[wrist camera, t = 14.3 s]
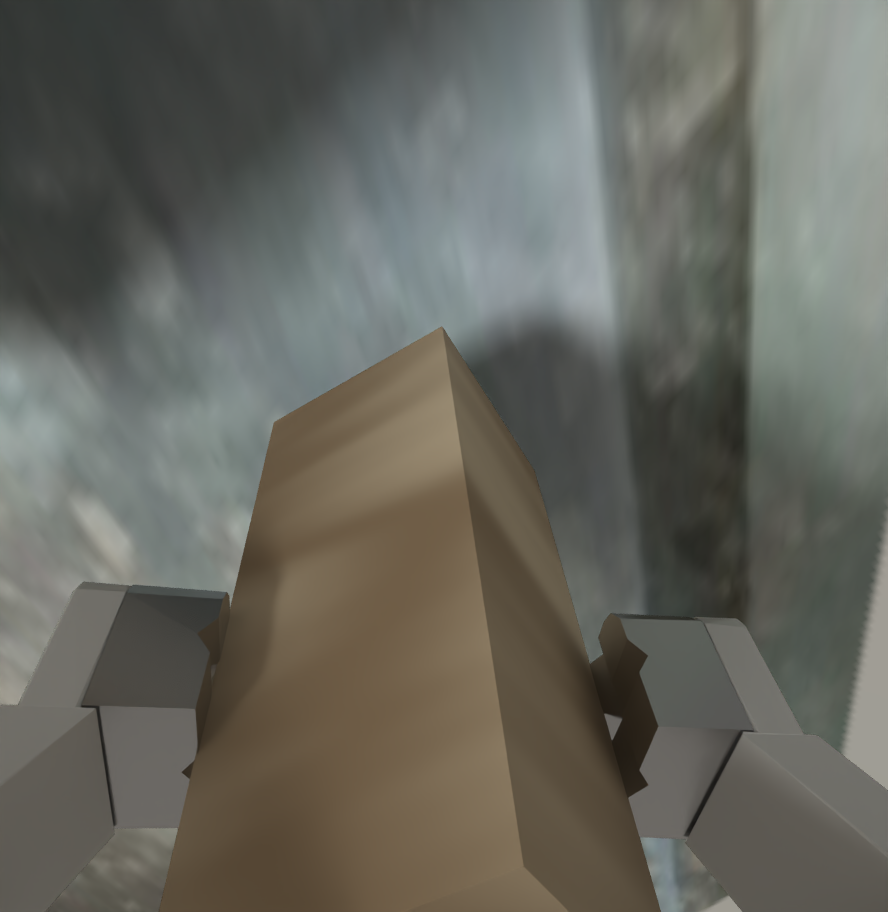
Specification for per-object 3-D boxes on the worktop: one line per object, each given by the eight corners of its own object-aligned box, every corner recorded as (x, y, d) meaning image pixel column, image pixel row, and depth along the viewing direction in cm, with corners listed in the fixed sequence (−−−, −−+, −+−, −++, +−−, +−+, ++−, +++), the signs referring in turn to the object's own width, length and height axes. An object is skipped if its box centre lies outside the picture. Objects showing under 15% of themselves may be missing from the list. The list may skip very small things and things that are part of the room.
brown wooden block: (380, 549, 14) (375, 1136, 7) (274, 422, 12) (134, 1013, 5) (534, 471, 13) (697, 1037, 6) (441, 326, 11) (522, 865, 5)
